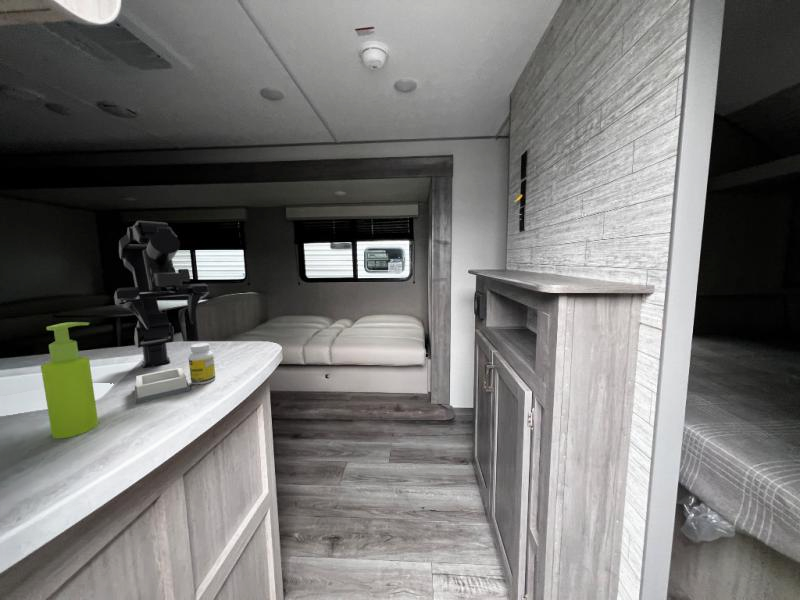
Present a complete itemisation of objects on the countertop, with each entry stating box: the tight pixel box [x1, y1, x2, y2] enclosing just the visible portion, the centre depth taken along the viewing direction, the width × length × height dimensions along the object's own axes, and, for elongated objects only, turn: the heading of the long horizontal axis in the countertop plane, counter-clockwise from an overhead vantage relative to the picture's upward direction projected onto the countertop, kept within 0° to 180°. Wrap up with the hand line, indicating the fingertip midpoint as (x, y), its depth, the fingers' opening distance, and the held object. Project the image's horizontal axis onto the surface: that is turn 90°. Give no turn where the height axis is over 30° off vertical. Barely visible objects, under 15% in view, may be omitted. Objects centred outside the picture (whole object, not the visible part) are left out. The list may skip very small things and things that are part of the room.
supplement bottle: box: [188, 342, 216, 385], centre depth 78 cm, size 5×5×10 cm
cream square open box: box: [134, 367, 191, 404], centre depth 73 cm, size 10×10×4 cm
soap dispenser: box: [40, 321, 99, 439], centre depth 56 cm, size 6×7×20 cm
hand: (171, 325), depth 77 cm, fingers open, 9 cm apart
